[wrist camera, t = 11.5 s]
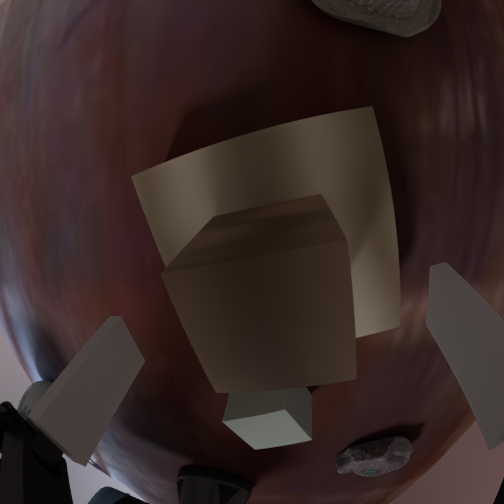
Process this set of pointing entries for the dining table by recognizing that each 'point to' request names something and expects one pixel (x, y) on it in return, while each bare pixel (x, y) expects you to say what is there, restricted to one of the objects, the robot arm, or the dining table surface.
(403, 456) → the rock
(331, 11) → the fossil
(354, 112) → the plinth
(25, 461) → the robot arm
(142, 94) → the dining table surface
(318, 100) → the dining table surface
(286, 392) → the grey green cube
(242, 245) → the walnut block
